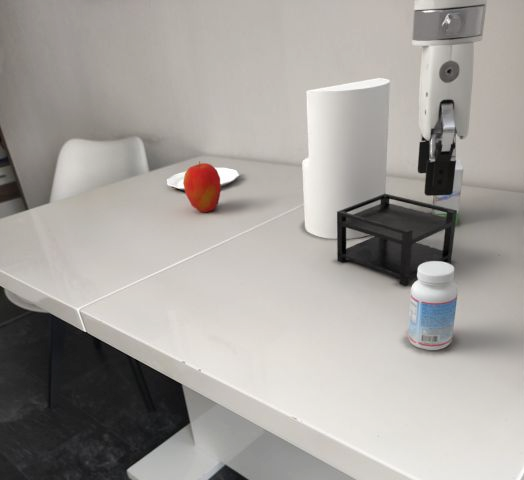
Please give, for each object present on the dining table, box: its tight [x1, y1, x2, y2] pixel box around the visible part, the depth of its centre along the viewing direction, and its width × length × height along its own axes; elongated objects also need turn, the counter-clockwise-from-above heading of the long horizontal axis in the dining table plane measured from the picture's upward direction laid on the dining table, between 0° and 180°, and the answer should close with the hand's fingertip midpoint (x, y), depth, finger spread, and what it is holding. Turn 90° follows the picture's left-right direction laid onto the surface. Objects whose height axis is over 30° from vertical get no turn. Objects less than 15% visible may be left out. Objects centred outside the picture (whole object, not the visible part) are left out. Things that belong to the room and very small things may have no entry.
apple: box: [183, 161, 222, 213], centre depth 132 cm, size 9×9×12 cm
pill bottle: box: [407, 261, 459, 351], centre depth 74 cm, size 6×6×11 cm
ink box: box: [431, 158, 464, 226], centre depth 113 cm, size 8×5×12 cm, turn 168°
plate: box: [166, 167, 240, 191], centre depth 156 cm, size 21×21×2 cm
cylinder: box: [301, 77, 391, 240], centre depth 111 cm, size 17×17×28 cm
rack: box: [336, 193, 457, 287], centre depth 97 cm, size 16×13×10 cm
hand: (433, 182), depth 69 cm, fingers open, 9 cm apart
